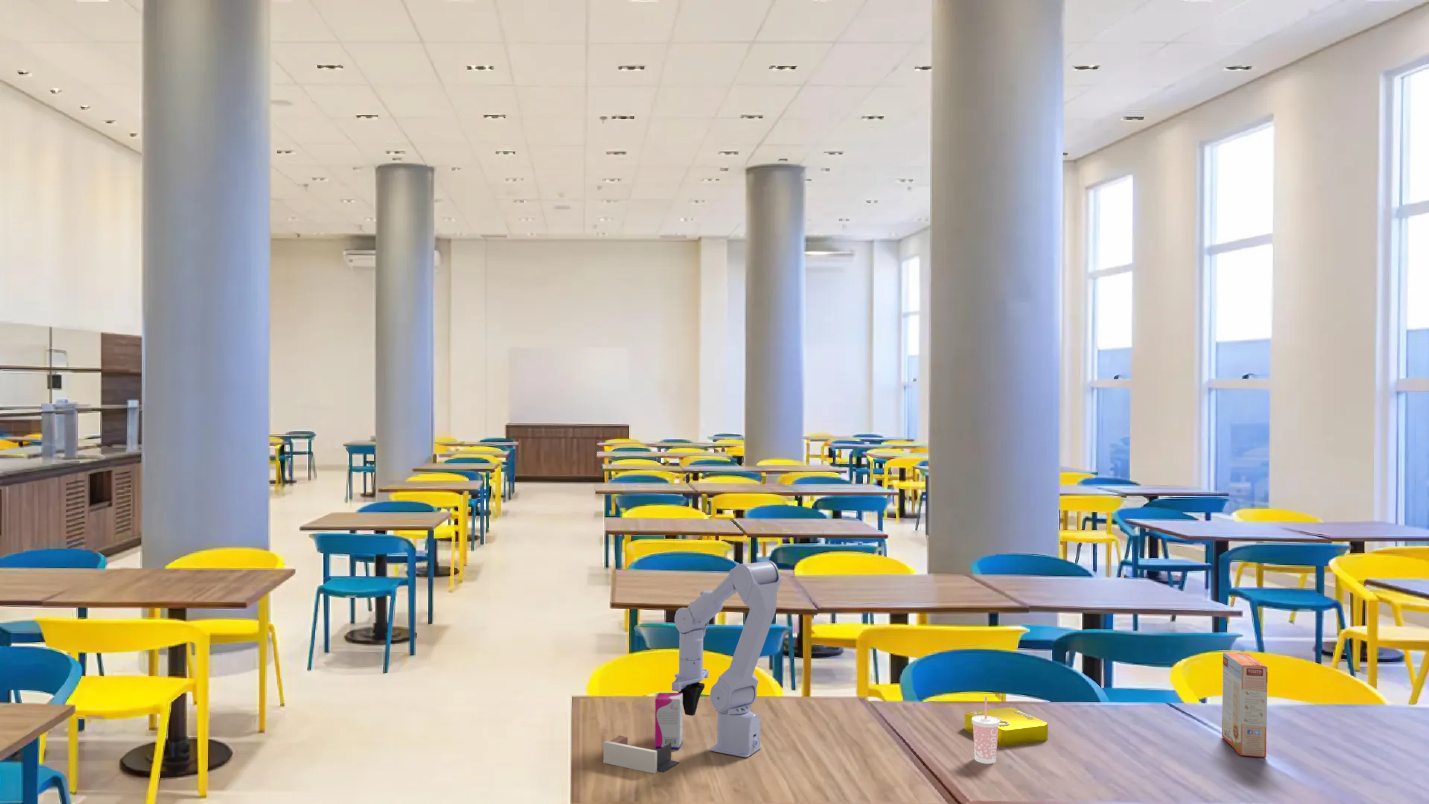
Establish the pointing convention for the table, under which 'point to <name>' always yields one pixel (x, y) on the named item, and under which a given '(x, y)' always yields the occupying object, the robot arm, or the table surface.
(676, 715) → the supplement box
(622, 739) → the pink rectangular block
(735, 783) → the table surface
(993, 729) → the beverage cup
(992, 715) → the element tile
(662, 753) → the bookend
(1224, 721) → the cracker box
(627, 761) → the shelf wall
